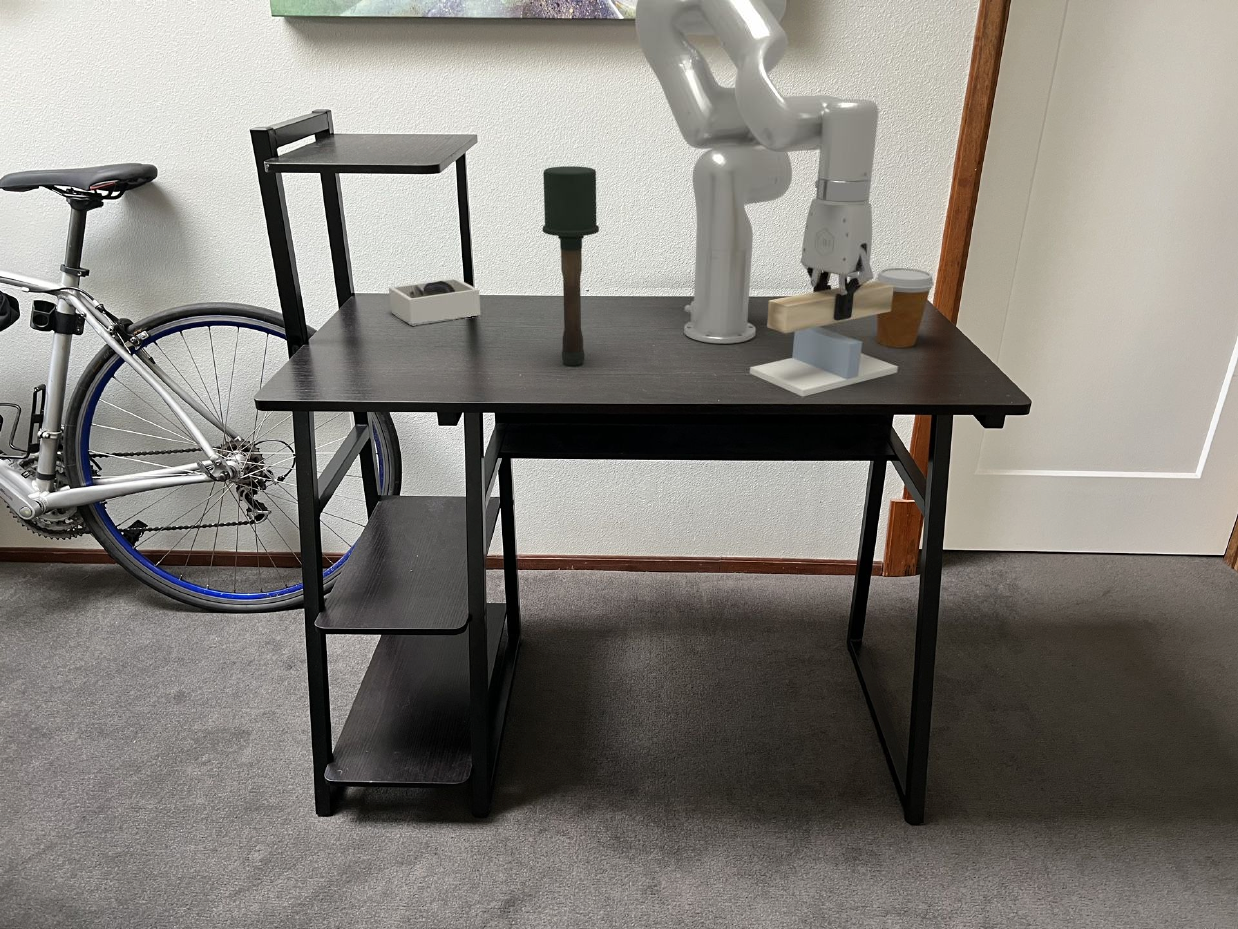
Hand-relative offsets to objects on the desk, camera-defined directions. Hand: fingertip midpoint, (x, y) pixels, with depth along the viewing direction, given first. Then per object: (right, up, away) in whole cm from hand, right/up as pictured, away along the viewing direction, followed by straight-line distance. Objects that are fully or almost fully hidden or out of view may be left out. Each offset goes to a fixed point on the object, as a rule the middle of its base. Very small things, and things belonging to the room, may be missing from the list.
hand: (831, 314), depth 139 cm
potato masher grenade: (-40, -7, +8) cm, 41 cm away
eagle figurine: (-67, +5, +33) cm, 75 cm away
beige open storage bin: (-67, +5, +33) cm, 75 cm away
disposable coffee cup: (+16, -2, +19) cm, 25 cm away
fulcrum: (0, -9, +4) cm, 10 cm away
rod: (0, -1, 0) cm, 1 cm away
